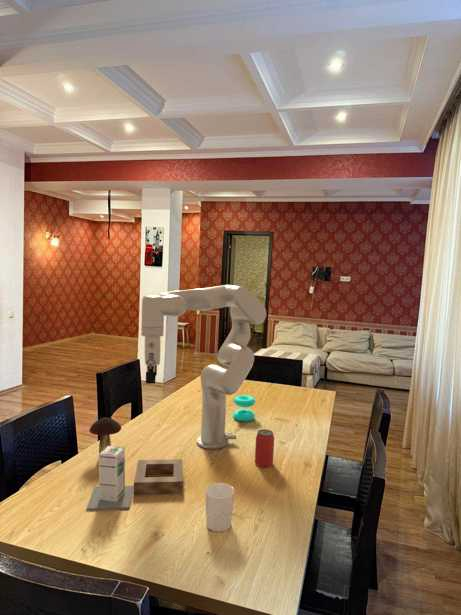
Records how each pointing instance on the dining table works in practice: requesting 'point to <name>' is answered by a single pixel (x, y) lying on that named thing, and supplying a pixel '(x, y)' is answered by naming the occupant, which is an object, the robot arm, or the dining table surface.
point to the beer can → (264, 448)
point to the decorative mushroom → (105, 431)
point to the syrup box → (111, 473)
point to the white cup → (219, 506)
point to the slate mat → (109, 505)
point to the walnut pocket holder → (159, 484)
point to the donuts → (244, 413)
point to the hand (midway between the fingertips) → (151, 379)
